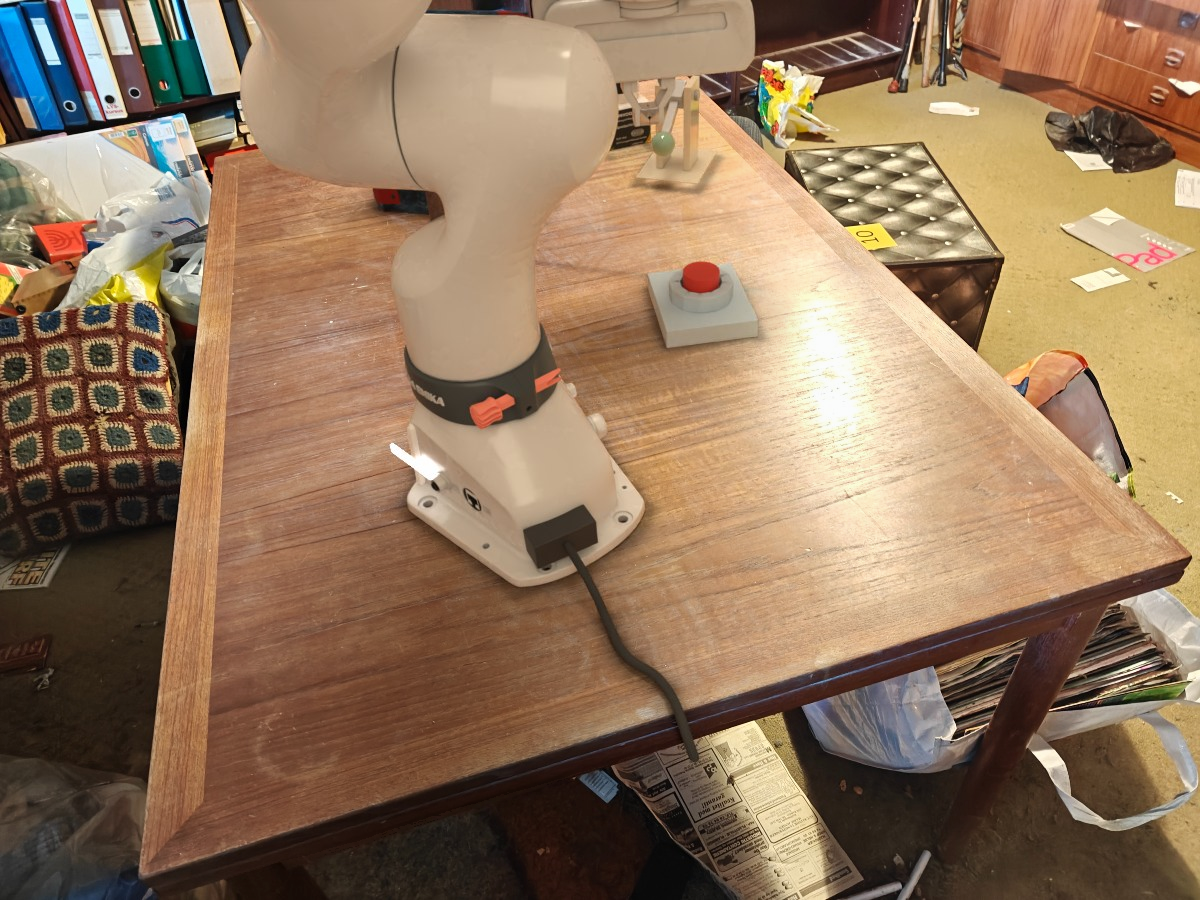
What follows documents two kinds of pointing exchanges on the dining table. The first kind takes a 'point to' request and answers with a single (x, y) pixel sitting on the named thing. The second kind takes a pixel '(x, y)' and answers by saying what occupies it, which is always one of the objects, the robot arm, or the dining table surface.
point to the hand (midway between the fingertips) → (648, 123)
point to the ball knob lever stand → (688, 159)
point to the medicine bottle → (629, 123)
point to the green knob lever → (669, 122)
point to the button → (701, 277)
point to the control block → (701, 309)
